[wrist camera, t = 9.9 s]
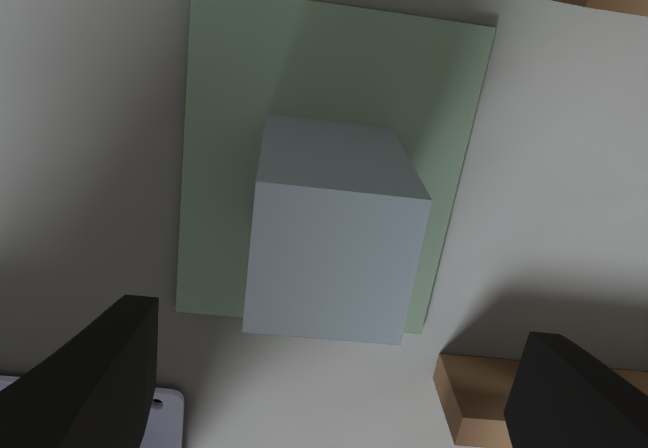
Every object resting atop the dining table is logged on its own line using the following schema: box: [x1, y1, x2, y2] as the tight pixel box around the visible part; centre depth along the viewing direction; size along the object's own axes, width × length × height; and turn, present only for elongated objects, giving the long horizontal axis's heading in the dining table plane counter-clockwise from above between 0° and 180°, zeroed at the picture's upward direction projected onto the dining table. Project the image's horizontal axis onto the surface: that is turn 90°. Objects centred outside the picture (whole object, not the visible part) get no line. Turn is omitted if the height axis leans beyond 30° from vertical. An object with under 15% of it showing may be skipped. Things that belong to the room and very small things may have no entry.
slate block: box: [242, 114, 432, 345], centre depth 17 cm, size 4×4×6 cm
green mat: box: [175, 0, 496, 334], centre depth 20 cm, size 9×11×1 cm
